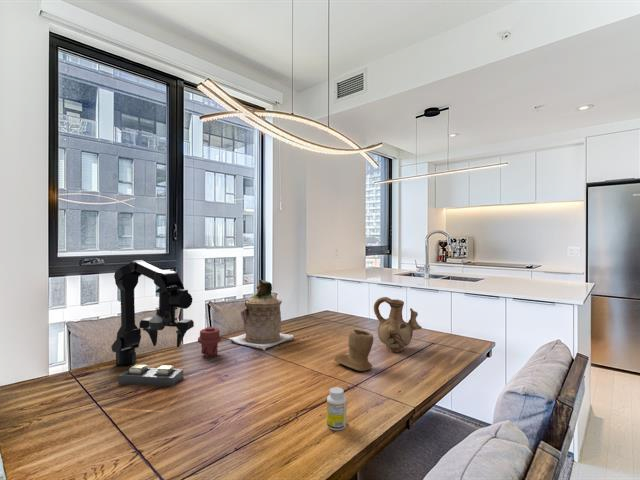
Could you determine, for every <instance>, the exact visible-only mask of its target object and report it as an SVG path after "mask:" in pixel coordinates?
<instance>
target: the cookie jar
mask: <svg viewBox="0 0 640 480" xmlns="http://www.w3.org/2000/svg"><path fill="white" fill-rule="evenodd" d="M256 289H257V292H256V293H254V294H253V295H252V296H251V297H250V298H246V299H245V301H244V305H245V307H244V308H243V310H241V311H240V316H241V319H242V320H243V326H242V329H243V331H244V332H245V333H244V334H240V335H238V336H234V337H229V338H228V340H230V341H232V342H233V343H234V344H238V345H243V346H246V347H247V346H248V347H250V348H251V347H252V348H257V349H261V350H263V351H266V349H268V348H271V347H274V346H277V345H279V344H282V343H284V342H287V341H291V340H293V338H294V334H289V333H288V334H287V333H281V331H282V317H281V314H282V313H281V304H282V302H283V300H282V299H278V298H276V297H274V296H272V292H273V285H272V282H269V281H267V280H264V279H263V280H262V279H259V280H258V283H257V284H256Z"/></svg>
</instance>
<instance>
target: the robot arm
mask: <svg viewBox="0 0 640 480" xmlns="http://www.w3.org/2000/svg"><path fill="white" fill-rule="evenodd" d="M113 276H114V277H113V278H114V283H115V285H116V286H117V288H118V290H119V291H120V292H119V293H120V327H119V329H118V331H117V333H116V339H115V341H114V342H113V343H112V345H111V348H110V349H111V351H112V352H113V353H115V364H113V367H126V368H128V367H130V366H131V365H134V364H135V363H136V362H138V360H137V352H136V349H138V348H139V347H140V343H141V339H142V334H141V333H142V331H144V332H146V333H148V335H149V338H150V340H151V343H152V345H153V346H154V347H155V346H157V344H158V333H159V331H162V330H164V329H165V327H174V328H176V329H177V330H175V332H176V348H180V346H181V343H182V341H183V338H184V337H185V335H186V333H187V331H189V330H190V329H192V328H194V327H195V322H194V320H193V319H189V318H187V319H185V318H183V319H181V320H180V321H177V320H178V317H177V316H176V311H177V310H178V308H179V309H182V310H183V309H184V310H185V309H188V308H190V307H191V305H192V304H193V297H192V295H191V293H189V290H188V289H185V286H184V284H183V283H182V281H181V278H180V276H179V274H178V273H177V272H176V271H173V270H164V269H161V268H159V267H156V266H154V265H152V264H150V263H147V262H146V261H144V260H143V259H141V260H132V261H130V262H129V263H128V264H125V265H124V266H122V267H120V268H118V269H117V270H116V271H115V272H114V274H113ZM141 276H144V277H147V278H148V279H150V280H152V281H153V284H154V285H155V286H157V287H158V288H157V289H156V290H155V293H156V294H157V293H158V308H157V309H156V312H155V315H154V316H152V317H150V316H149V317H146V318H143V319H141V320H140V322H139V324H138V325H139V326H137V325H136V314H135V313H136V309H135V289H136V287H137V285H138V283H139V278H140V277H141ZM141 329H142V330H141Z"/></svg>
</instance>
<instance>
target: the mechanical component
mask: <svg viewBox="0 0 640 480" xmlns="http://www.w3.org/2000/svg"><path fill="white" fill-rule="evenodd" d="M221 341H222V336H221V334H220V329H219V328H216V327H214V326H207V327H205V328H203V329H201V330H200V331H199V337H197V343H199V344H201V349H200V350H201V352H200V353H201V354H202V355H204V358H206V359H208V358H210V357H213V356H217V355H218V349H219V348H218V347H219V342H221Z"/></svg>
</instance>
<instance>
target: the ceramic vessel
mask: <svg viewBox="0 0 640 480" xmlns="http://www.w3.org/2000/svg"><path fill="white" fill-rule="evenodd" d="M383 303H387V304H388V305H389V306H390V311H389V315H388V318H384V317H383V316H382V315H381V312H380V309H379V308H380V305H382V304H383ZM404 306H405V301H403V300H400V299H391V298H390V297H388V296H383V297H379V298H378V299H377V300H376V301H375V302H374V304H373V312H374V315H375V316H376V318H377V320H378V321H379V324H378V327H377V335H378V339H379V341H380V342H381V343H382V344H384V345H385V346H386V347H385V349H386V348H387V349H388V350H391V351H401V352H403V351H404V350H405V347H407V346H409V345H410V343H411V342H412V340H413V339H412V338H413V334H414V331H416V330H417V331H418V330H421V329H423V328H422V326H421V325H420V324H419V323H418V321H417V317H418V316H419V315H418V312H417V311H414V309H413V308H412V307H410V309H409V311H410V319H409V320H408V322H406V321H405V320H404V318H403V309H404ZM387 349H386V350H387ZM388 350H387V351H388ZM402 350H403V351H402Z"/></svg>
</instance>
